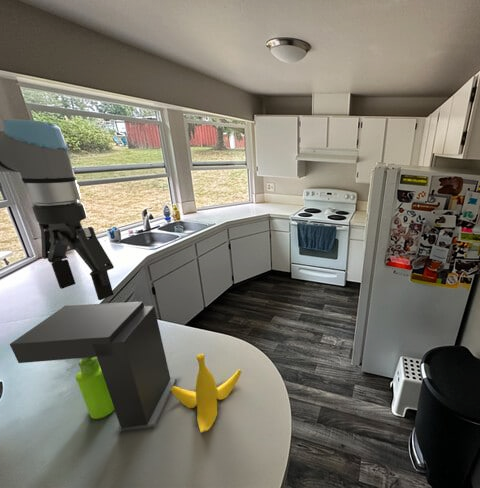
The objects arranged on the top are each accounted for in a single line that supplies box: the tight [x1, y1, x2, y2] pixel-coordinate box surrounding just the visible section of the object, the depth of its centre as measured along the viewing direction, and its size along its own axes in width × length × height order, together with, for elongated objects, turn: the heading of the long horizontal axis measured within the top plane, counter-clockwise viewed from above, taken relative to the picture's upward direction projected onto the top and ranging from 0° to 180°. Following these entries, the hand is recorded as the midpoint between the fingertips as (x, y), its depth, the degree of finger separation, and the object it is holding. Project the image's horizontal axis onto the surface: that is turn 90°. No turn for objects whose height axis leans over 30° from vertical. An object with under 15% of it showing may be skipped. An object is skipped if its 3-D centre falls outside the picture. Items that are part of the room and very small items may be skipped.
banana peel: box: [171, 353, 242, 433], centre depth 65 cm, size 17×19×17 cm
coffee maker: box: [9, 301, 177, 432], centre depth 64 cm, size 22×14×28 cm, turn 99°
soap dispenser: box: [75, 357, 115, 420], centre depth 64 cm, size 6×7×20 cm
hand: (86, 291), depth 59 cm, fingers open, 13 cm apart
